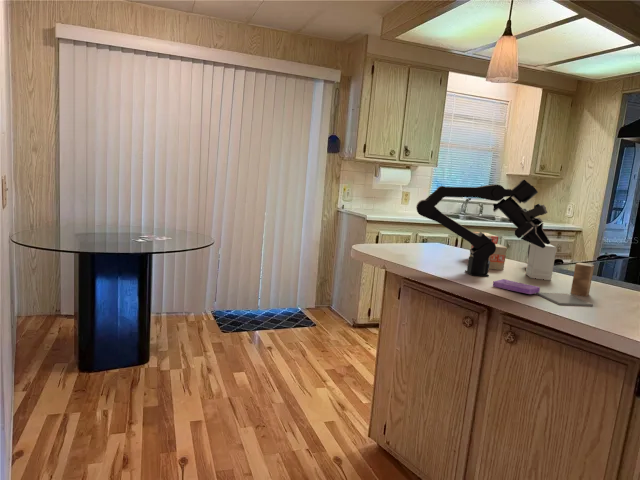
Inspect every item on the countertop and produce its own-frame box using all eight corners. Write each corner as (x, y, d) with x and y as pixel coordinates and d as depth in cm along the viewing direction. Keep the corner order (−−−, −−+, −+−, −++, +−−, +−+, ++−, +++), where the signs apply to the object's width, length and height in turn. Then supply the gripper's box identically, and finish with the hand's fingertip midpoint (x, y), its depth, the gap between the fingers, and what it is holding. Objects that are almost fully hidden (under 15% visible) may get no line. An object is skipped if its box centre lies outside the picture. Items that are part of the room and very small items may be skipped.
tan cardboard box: (504, 270, 176) (508, 240, 174) (488, 269, 175) (493, 238, 174) (482, 259, 197) (486, 232, 195) (469, 258, 197) (472, 231, 195)
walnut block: (570, 293, 146) (575, 263, 144) (573, 291, 149) (578, 262, 147) (586, 296, 143) (591, 266, 141) (588, 294, 146) (594, 265, 145)
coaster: (559, 304, 130) (559, 303, 130) (536, 294, 141) (536, 292, 141) (592, 306, 132) (593, 304, 132) (567, 295, 142) (567, 293, 142)
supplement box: (551, 280, 163) (557, 247, 161) (530, 278, 164) (535, 244, 162) (545, 276, 170) (551, 244, 168) (525, 273, 172) (530, 241, 170)
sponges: (503, 284, 151) (503, 278, 151) (540, 292, 141) (540, 286, 141) (492, 286, 146) (492, 280, 146) (529, 294, 137) (530, 288, 136)
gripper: (526, 197, 146) (562, 233, 141) (537, 195, 160) (570, 227, 156) (500, 220, 151) (534, 255, 146) (513, 216, 166) (544, 247, 161)
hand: (547, 245), depth 152 cm, fingers open, 9 cm apart
